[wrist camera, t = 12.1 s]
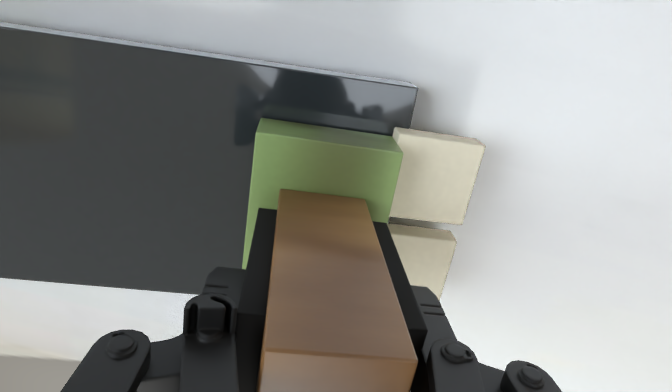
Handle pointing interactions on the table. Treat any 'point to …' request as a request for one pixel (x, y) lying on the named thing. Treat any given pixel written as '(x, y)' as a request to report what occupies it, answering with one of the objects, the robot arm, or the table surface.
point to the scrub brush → (328, 261)
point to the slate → (148, 152)
